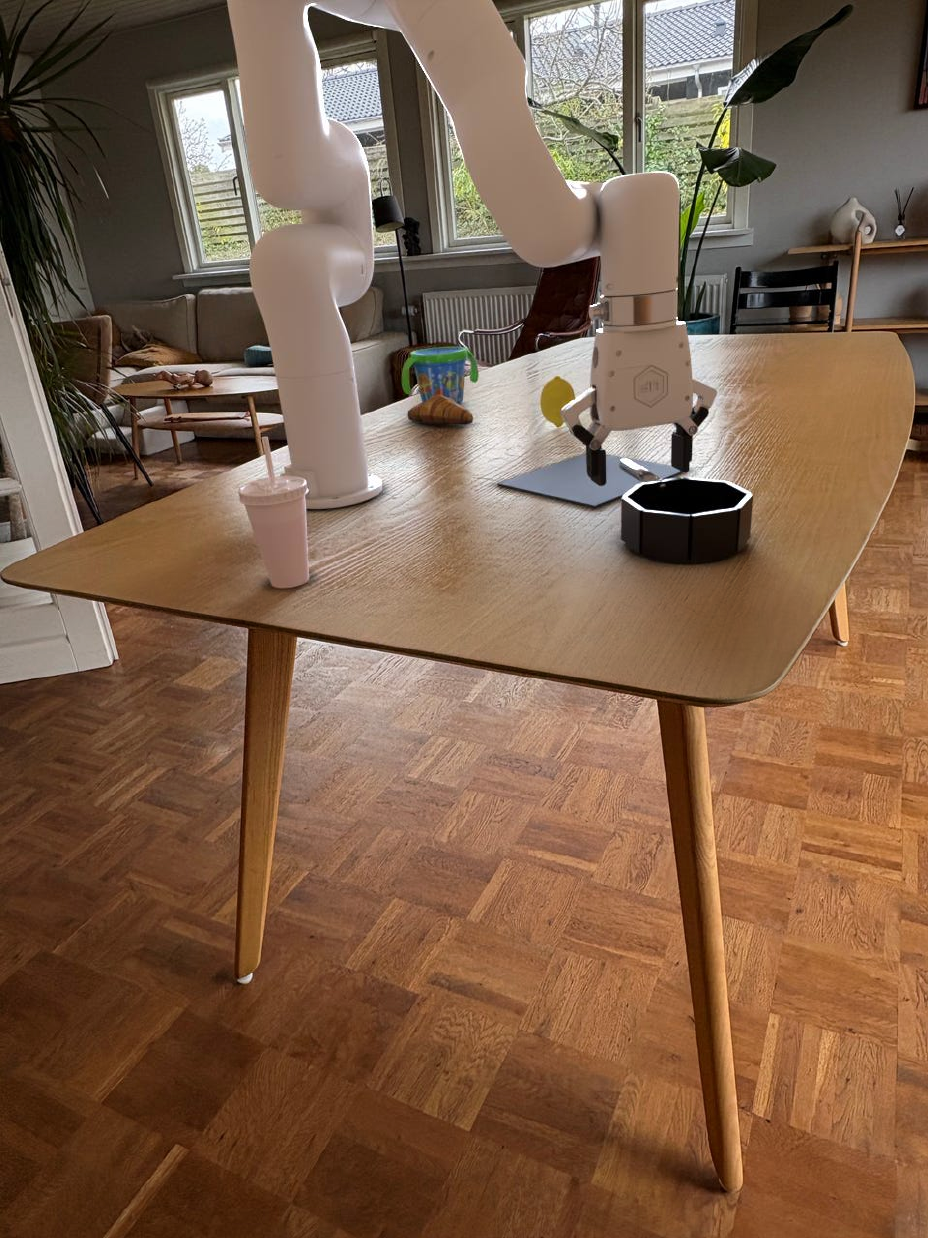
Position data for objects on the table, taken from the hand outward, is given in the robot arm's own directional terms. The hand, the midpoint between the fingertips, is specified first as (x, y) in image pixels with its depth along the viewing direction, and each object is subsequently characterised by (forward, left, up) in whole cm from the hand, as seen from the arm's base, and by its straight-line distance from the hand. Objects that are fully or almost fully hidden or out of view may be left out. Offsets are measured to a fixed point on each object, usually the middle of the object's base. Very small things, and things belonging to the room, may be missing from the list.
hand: (639, 476), depth 89 cm
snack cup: (+27, +66, -4) cm, 71 cm away
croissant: (+17, +55, -4) cm, 58 cm away
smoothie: (-37, +14, -4) cm, 40 cm away
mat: (+6, +12, -4) cm, 14 cm away
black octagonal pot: (-4, -6, -4) cm, 8 cm away
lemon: (+25, +35, -4) cm, 43 cm away
